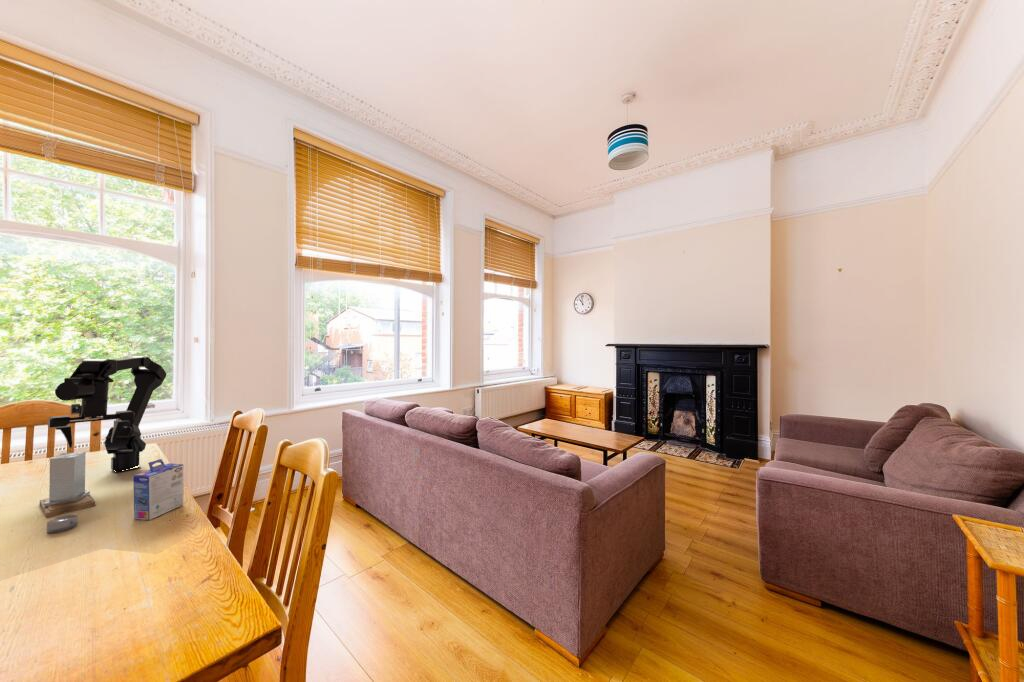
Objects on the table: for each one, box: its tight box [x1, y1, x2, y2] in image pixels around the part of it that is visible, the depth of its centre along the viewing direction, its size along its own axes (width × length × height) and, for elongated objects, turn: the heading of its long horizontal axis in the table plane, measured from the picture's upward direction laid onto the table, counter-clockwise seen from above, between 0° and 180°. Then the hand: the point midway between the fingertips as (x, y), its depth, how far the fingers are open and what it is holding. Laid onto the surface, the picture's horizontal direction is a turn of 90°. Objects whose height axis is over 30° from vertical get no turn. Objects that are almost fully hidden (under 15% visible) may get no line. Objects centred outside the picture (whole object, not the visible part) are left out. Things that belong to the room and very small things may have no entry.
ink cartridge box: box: [132, 458, 184, 521], centre depth 107 cm, size 10×6×14 cm, turn 174°
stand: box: [39, 489, 97, 518], centre depth 109 cm, size 9×13×2 cm
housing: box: [43, 451, 91, 506], centre depth 109 cm, size 6×6×13 cm
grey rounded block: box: [46, 514, 78, 535], centre depth 96 cm, size 5×5×2 cm
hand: (92, 444), depth 123 cm, fingers open, 9 cm apart
